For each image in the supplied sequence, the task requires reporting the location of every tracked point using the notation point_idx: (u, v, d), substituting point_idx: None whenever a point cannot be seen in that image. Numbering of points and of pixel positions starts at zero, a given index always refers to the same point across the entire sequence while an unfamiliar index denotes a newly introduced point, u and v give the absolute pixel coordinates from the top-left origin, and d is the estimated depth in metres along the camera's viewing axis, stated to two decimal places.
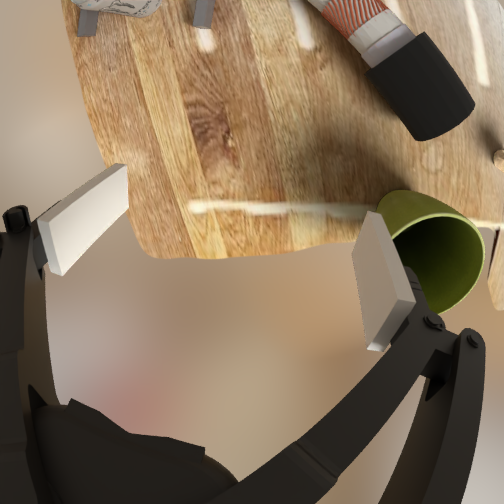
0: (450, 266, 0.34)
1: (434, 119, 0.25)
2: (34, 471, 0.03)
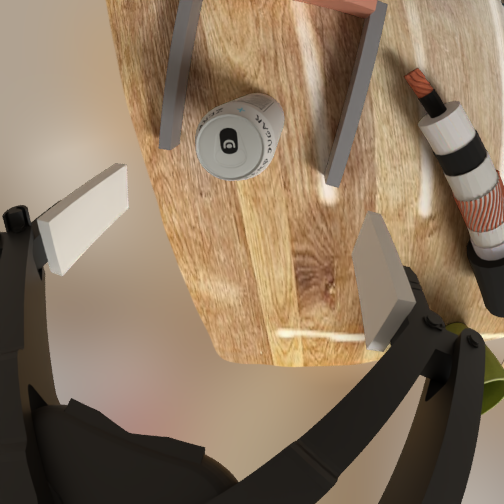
0: None
1: None
2: (34, 471, 0.03)
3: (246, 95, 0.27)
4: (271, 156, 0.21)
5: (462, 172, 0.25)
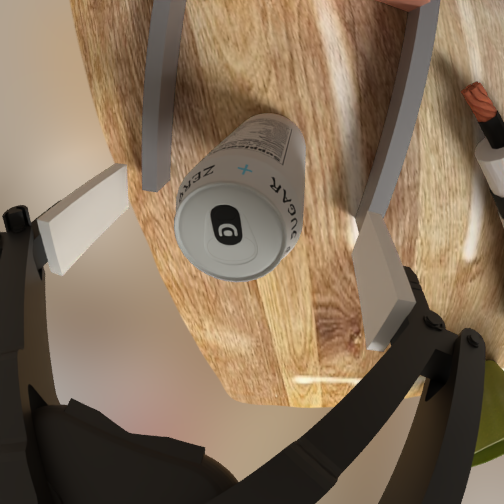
0: None
1: None
2: (34, 471, 0.03)
3: (253, 120, 0.19)
4: (296, 240, 0.14)
5: None
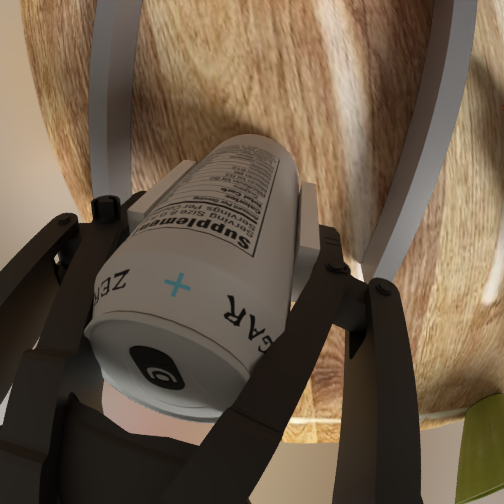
0: None
1: None
2: (34, 471, 0.03)
3: (224, 149, 0.14)
4: None
5: None
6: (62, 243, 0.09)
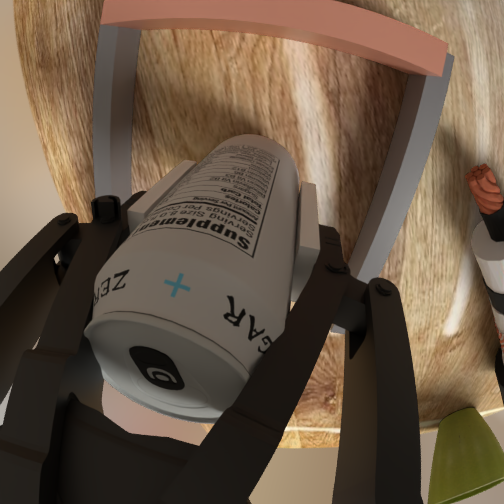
0: None
1: None
2: (34, 471, 0.03)
3: (224, 149, 0.14)
4: None
5: None
6: (62, 243, 0.09)
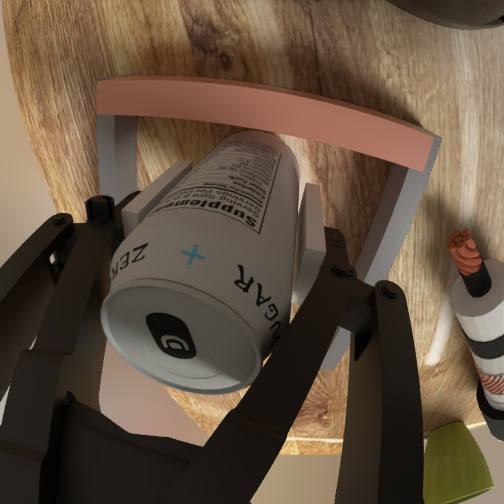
0: None
1: None
2: (34, 471, 0.03)
3: (229, 143, 0.15)
4: None
5: (488, 357, 0.19)
6: (57, 243, 0.09)
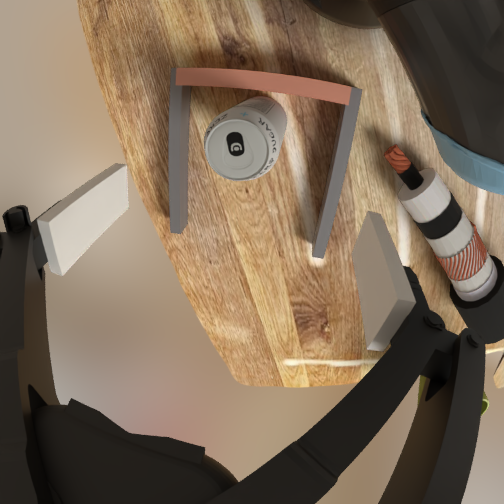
0: None
1: (489, 337, 0.34)
2: (34, 471, 0.03)
3: (248, 99, 0.28)
4: (276, 155, 0.22)
5: (437, 237, 0.31)
6: None
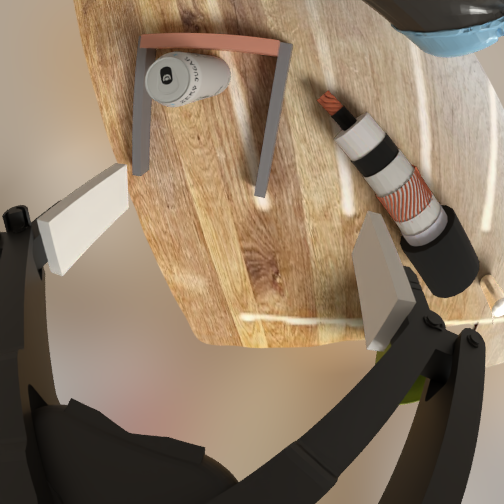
0: None
1: (445, 289, 0.38)
2: (34, 471, 0.03)
3: None
4: (199, 84, 0.25)
5: (372, 173, 0.35)
6: None
